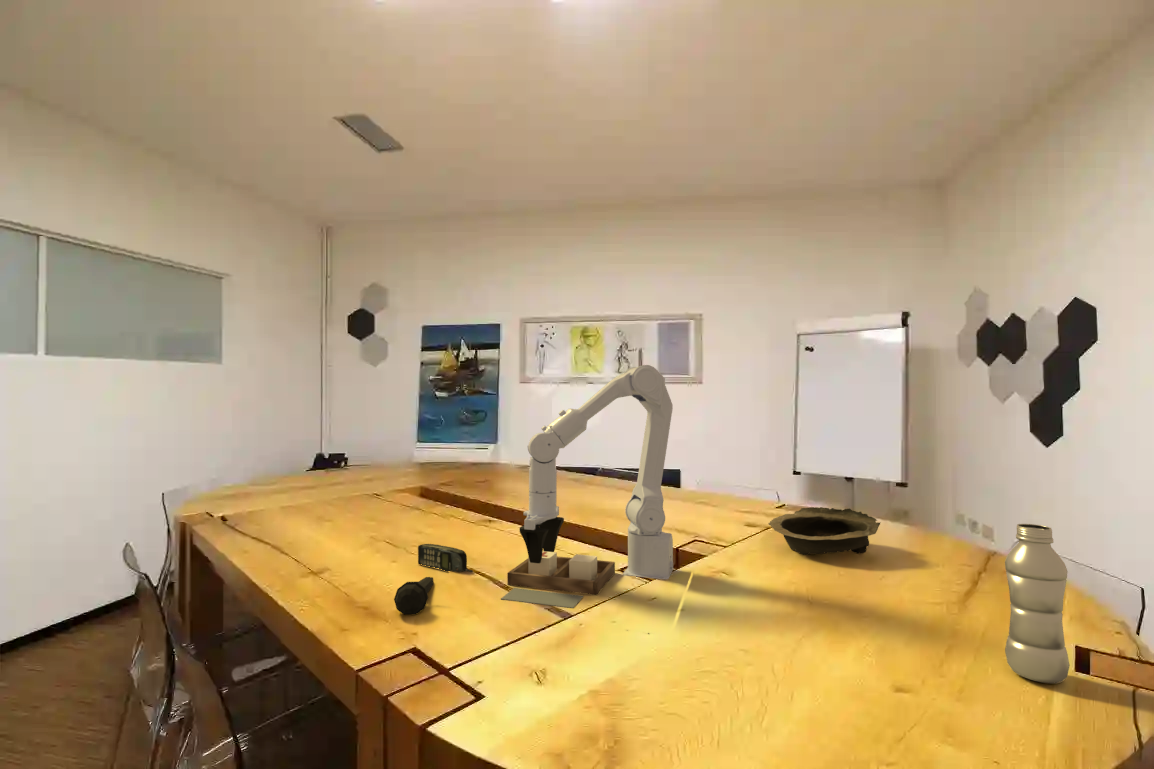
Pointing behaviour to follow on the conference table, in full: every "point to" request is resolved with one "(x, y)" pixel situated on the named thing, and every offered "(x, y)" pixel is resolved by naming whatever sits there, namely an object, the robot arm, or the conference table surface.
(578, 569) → the blank cube
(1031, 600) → the plastic bottle
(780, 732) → the conference table surface
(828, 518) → the stone bowl
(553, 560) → the letter cube
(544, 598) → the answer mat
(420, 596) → the microphone
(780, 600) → the conference table surface
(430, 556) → the mobile phone
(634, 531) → the robot arm
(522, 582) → the organizer
